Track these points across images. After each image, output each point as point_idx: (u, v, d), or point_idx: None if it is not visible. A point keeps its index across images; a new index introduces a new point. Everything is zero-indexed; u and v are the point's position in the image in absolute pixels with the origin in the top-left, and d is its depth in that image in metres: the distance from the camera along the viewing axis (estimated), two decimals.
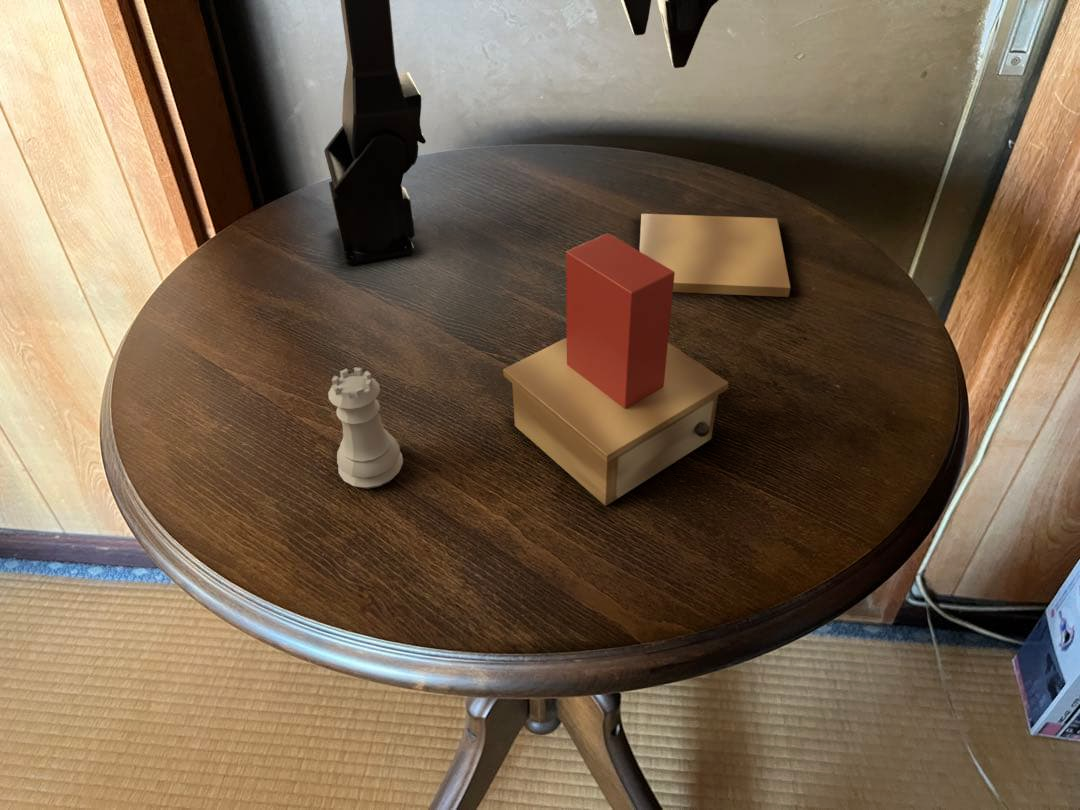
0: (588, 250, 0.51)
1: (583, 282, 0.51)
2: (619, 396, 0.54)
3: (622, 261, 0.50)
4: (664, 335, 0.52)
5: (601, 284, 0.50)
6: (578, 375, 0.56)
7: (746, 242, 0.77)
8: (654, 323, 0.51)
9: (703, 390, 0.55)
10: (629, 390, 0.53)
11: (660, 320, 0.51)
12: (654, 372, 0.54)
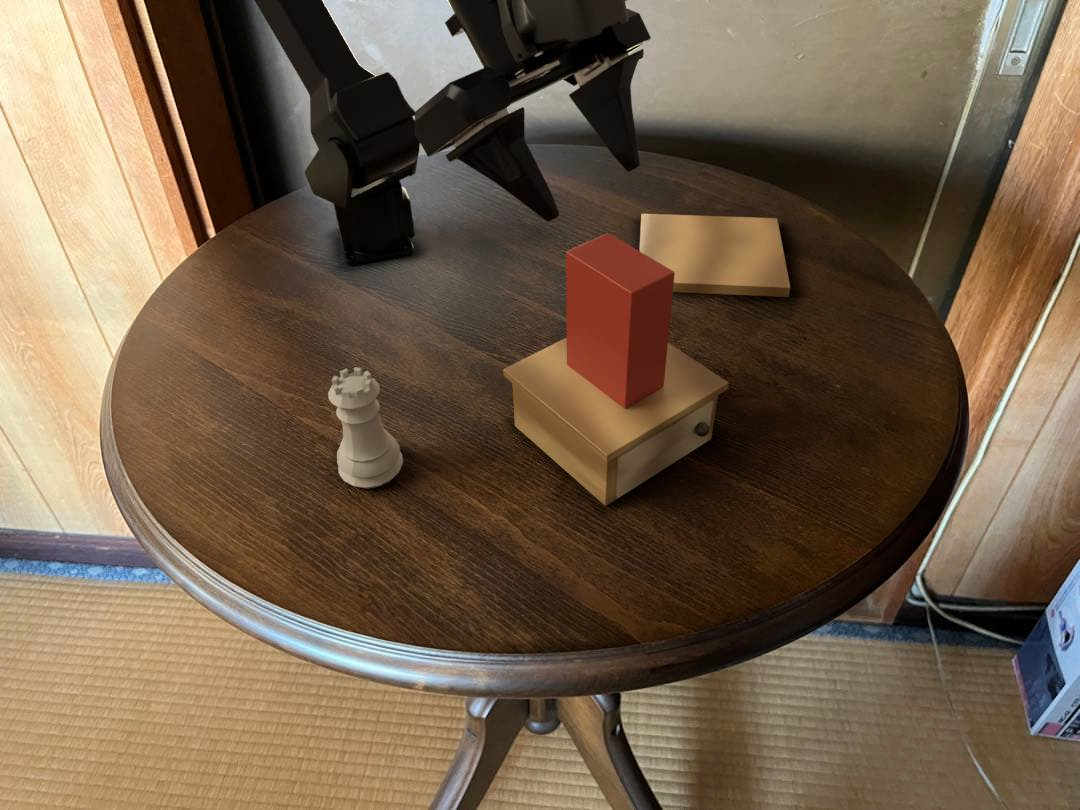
0: (588, 250, 0.51)
1: (583, 282, 0.51)
2: (619, 396, 0.54)
3: (622, 261, 0.50)
4: (664, 335, 0.52)
5: (601, 284, 0.50)
6: (578, 375, 0.56)
7: (746, 242, 0.77)
8: (654, 323, 0.51)
9: (703, 390, 0.55)
10: (629, 390, 0.53)
11: (660, 320, 0.51)
12: (654, 372, 0.54)
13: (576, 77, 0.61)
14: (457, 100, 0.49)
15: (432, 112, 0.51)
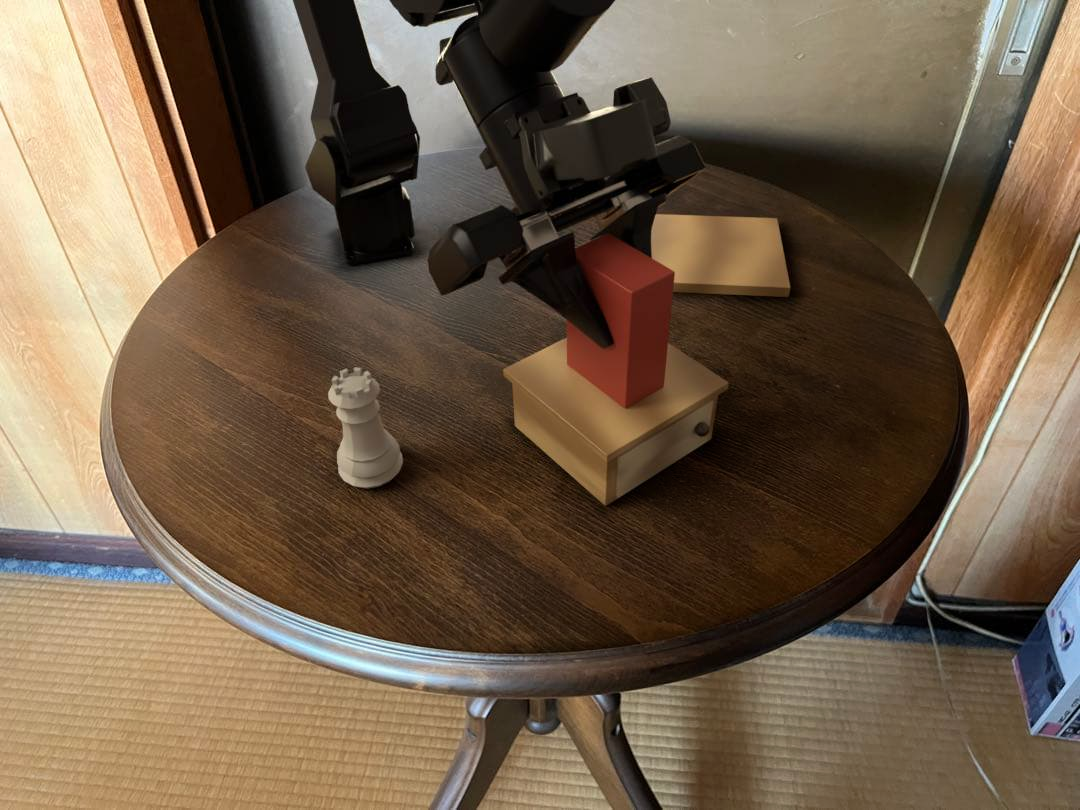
0: (589, 250, 0.51)
1: None
2: (619, 396, 0.54)
3: (622, 261, 0.50)
4: (664, 335, 0.52)
5: (601, 284, 0.50)
6: (578, 375, 0.56)
7: (746, 242, 0.77)
8: (654, 323, 0.51)
9: (703, 390, 0.55)
10: (629, 390, 0.53)
11: (660, 320, 0.51)
12: (654, 372, 0.54)
13: (596, 221, 0.55)
14: (458, 242, 0.46)
15: (440, 252, 0.48)
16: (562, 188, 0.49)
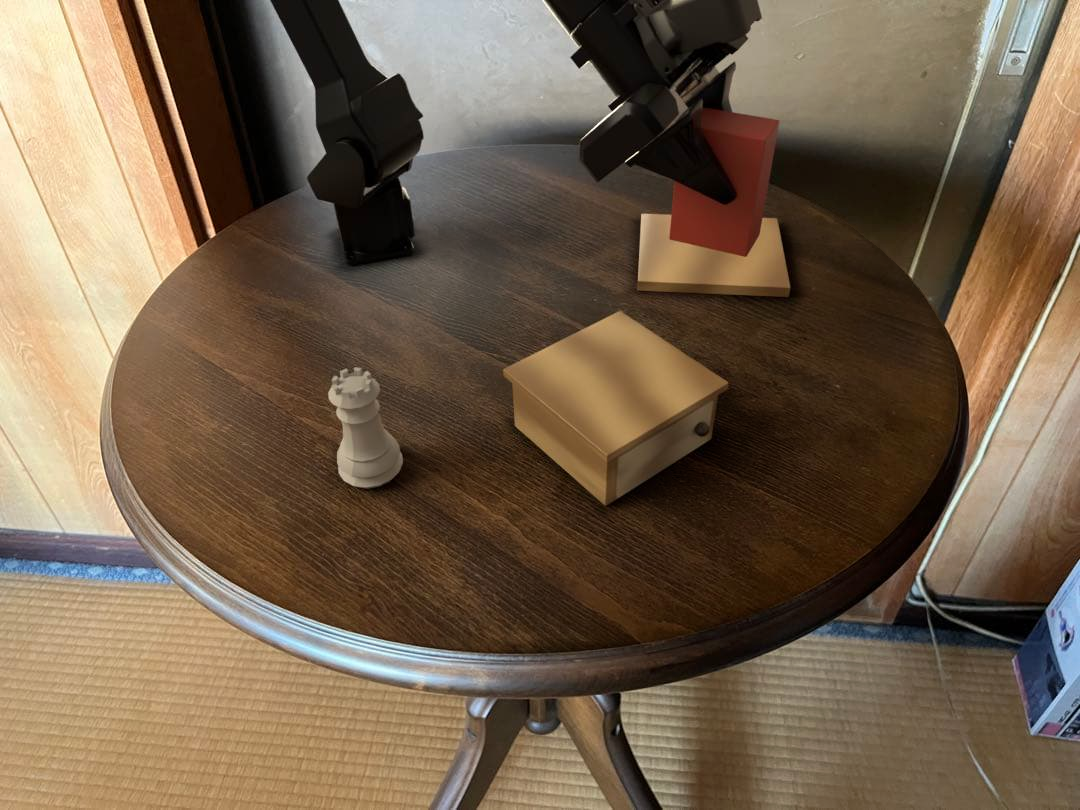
0: None
1: None
2: (740, 247, 0.60)
3: (732, 121, 0.57)
4: (767, 183, 0.60)
5: (726, 143, 0.56)
6: (578, 375, 0.56)
7: None
8: (767, 170, 0.58)
9: (703, 390, 0.55)
10: (750, 237, 0.60)
11: (768, 168, 0.59)
12: (759, 220, 0.61)
13: None
14: (639, 116, 0.50)
15: (607, 135, 0.51)
16: None
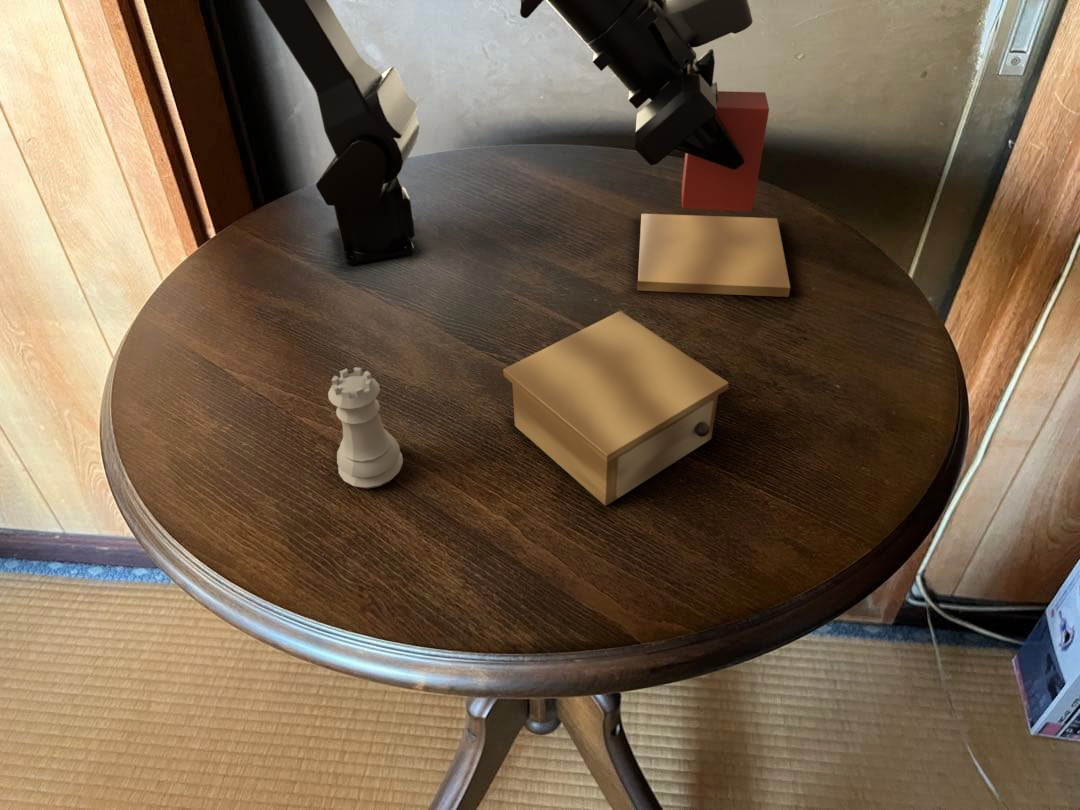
0: None
1: None
2: (746, 203, 0.71)
3: (731, 98, 0.67)
4: None
5: (734, 117, 0.66)
6: (578, 375, 0.56)
7: (746, 242, 0.77)
8: None
9: (703, 390, 0.55)
10: (754, 194, 0.71)
11: None
12: None
13: None
14: (697, 101, 0.58)
15: (667, 122, 0.59)
16: None
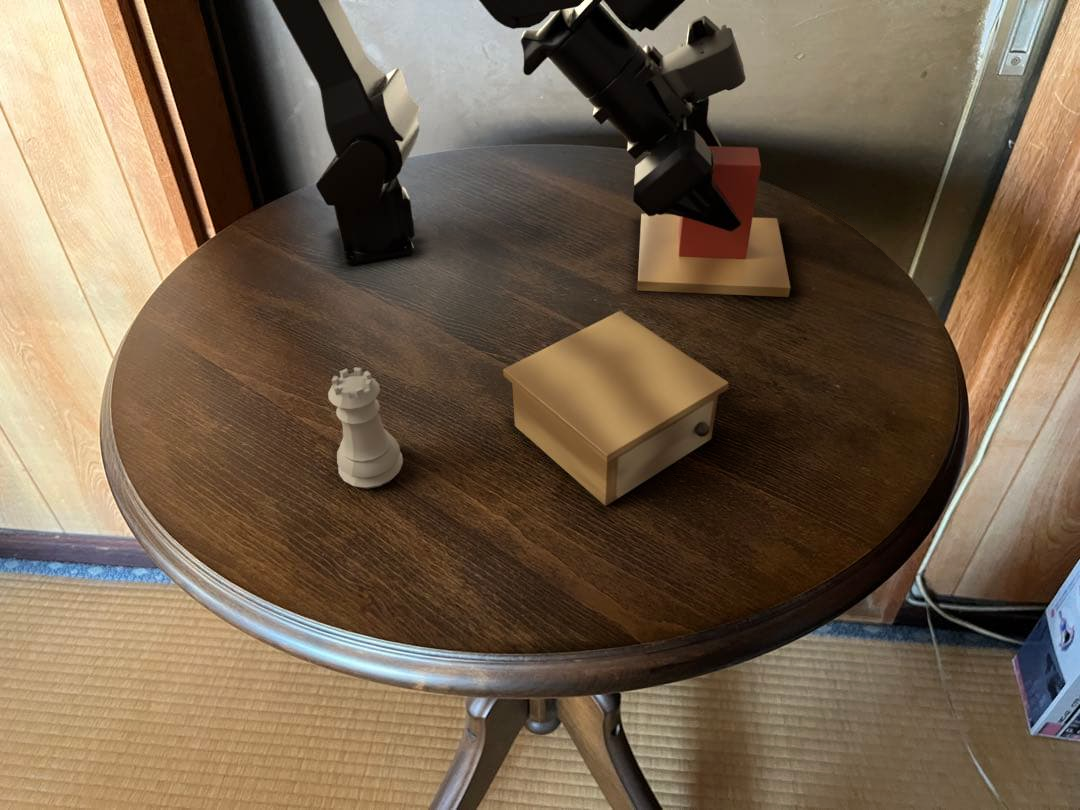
0: None
1: None
2: (740, 252, 0.74)
3: (724, 154, 0.70)
4: None
5: (727, 172, 0.69)
6: (578, 375, 0.56)
7: None
8: None
9: (703, 390, 0.55)
10: None
11: None
12: None
13: None
14: (692, 158, 0.61)
15: (663, 177, 0.62)
16: None
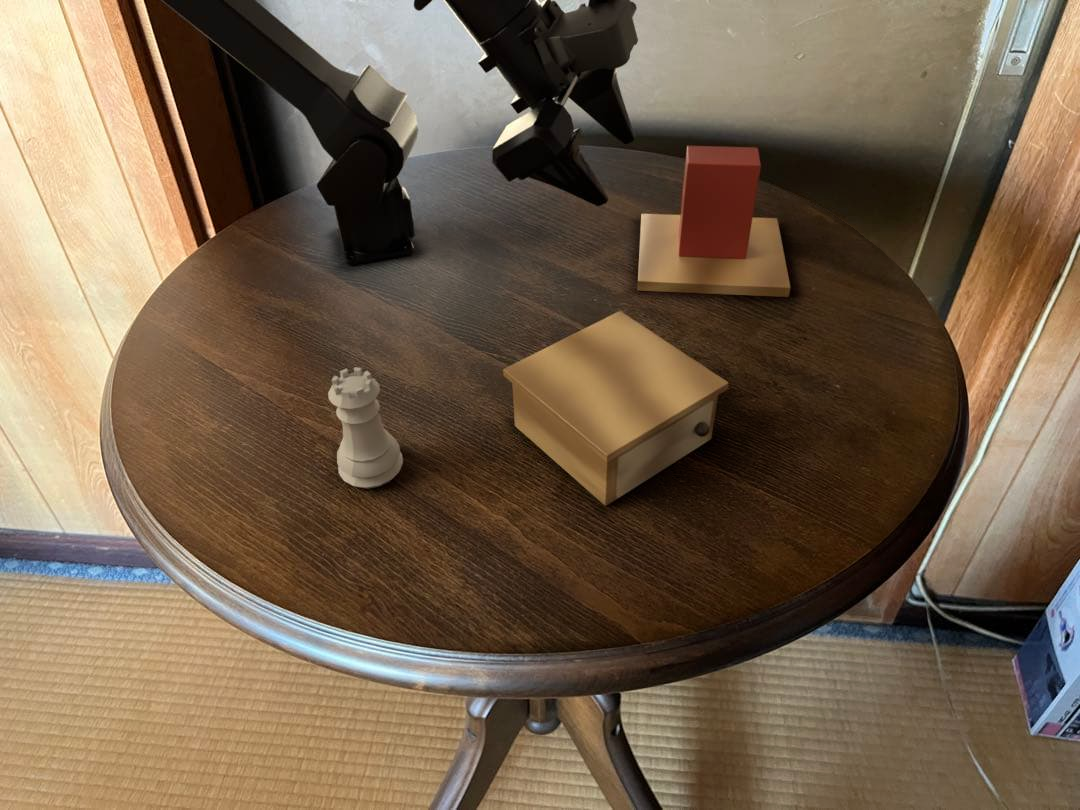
0: (698, 157, 0.70)
1: (706, 180, 0.70)
2: (740, 252, 0.74)
3: (724, 154, 0.70)
4: None
5: (727, 172, 0.69)
6: (578, 375, 0.56)
7: None
8: None
9: (703, 390, 0.55)
10: None
11: None
12: None
13: None
14: (544, 138, 0.61)
15: (517, 149, 0.63)
16: None
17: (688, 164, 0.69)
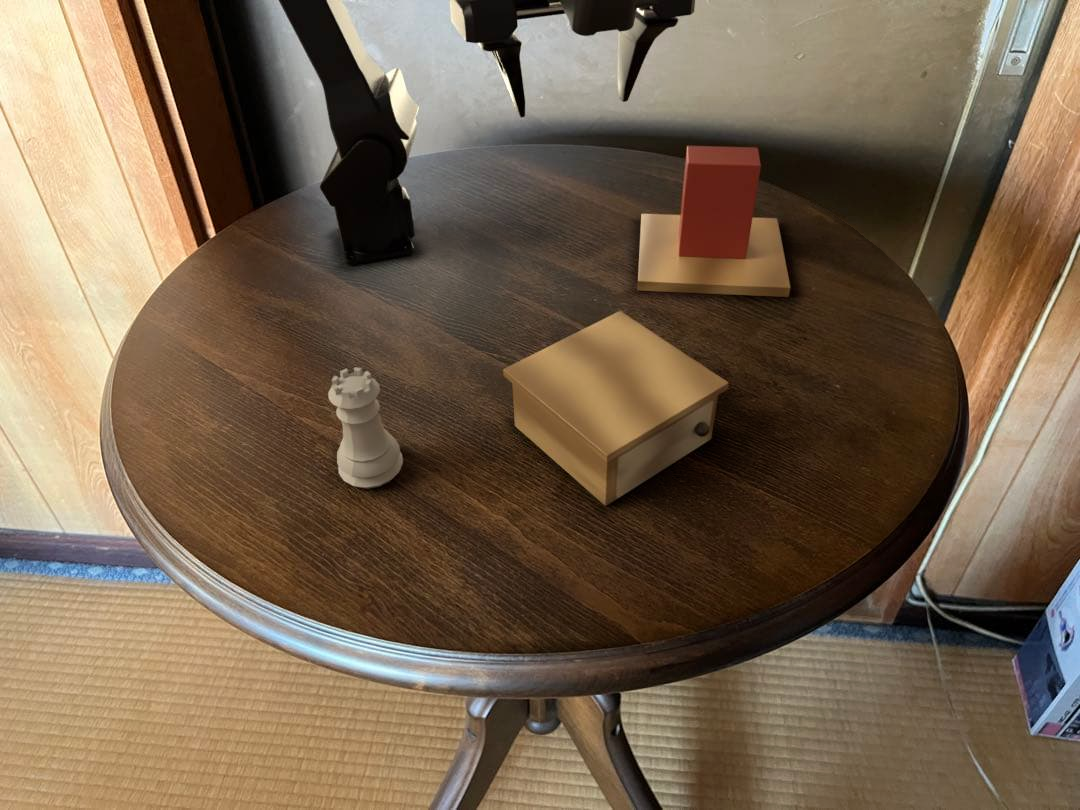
0: (698, 157, 0.70)
1: (706, 180, 0.70)
2: (740, 252, 0.74)
3: (724, 154, 0.70)
4: None
5: (727, 172, 0.69)
6: (578, 375, 0.56)
7: None
8: None
9: (703, 390, 0.55)
10: None
11: None
12: None
13: None
14: (466, 19, 0.61)
15: (456, 5, 0.63)
16: None
17: (688, 164, 0.69)
